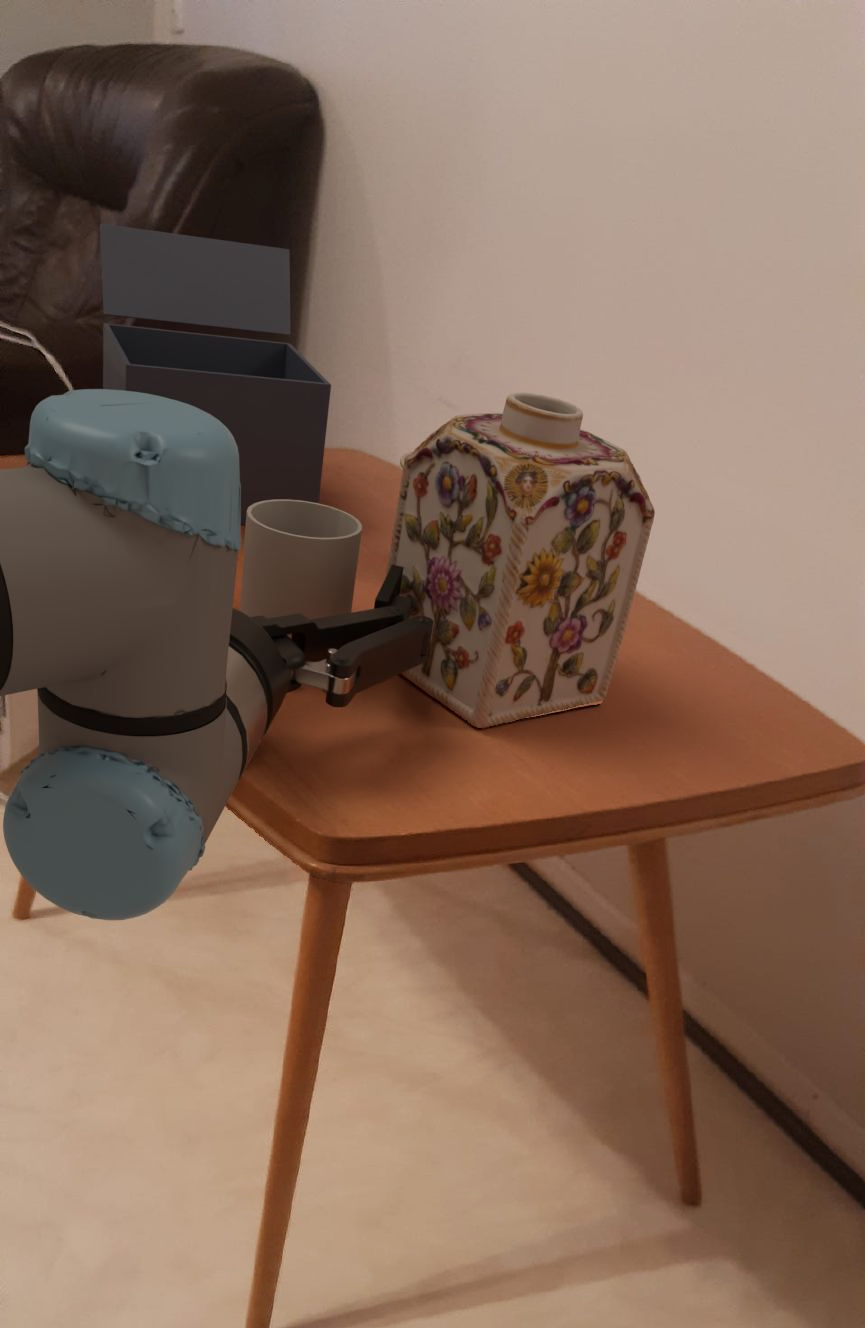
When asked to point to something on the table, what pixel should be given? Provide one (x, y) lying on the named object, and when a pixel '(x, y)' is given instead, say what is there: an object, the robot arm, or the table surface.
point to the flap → (195, 280)
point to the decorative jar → (519, 558)
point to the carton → (235, 400)
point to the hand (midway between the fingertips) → (290, 564)
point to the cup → (299, 559)
